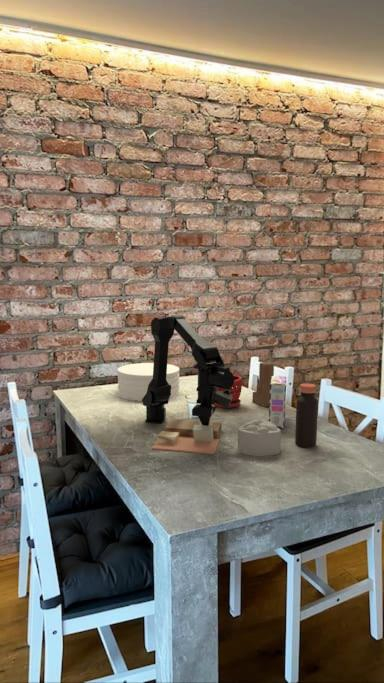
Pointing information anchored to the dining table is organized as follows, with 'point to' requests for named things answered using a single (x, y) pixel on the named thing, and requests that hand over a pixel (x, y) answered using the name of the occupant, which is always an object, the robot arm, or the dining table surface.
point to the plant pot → (233, 392)
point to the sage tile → (203, 433)
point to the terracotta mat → (189, 446)
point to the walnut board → (191, 427)
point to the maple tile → (168, 438)
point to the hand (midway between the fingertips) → (206, 429)
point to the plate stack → (143, 380)
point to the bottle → (306, 417)
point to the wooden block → (264, 384)
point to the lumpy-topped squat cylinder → (259, 438)
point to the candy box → (277, 401)
